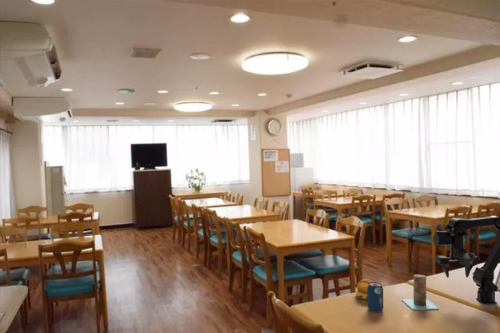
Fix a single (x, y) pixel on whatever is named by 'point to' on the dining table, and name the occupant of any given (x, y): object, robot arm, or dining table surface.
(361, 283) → the cheeseburger
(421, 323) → the dining table surface
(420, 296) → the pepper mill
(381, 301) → the soda can
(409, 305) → the board
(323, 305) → the dining table surface
